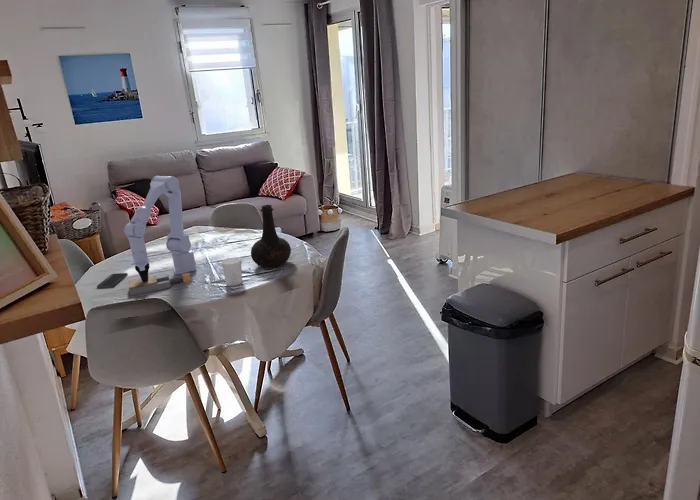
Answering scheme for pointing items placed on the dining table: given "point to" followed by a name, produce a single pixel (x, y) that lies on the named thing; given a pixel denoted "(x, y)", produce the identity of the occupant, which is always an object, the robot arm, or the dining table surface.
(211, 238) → the dining table surface
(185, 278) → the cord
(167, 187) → the robot arm
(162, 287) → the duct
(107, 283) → the phone
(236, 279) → the white cup
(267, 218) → the glass bottle
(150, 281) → the lid
